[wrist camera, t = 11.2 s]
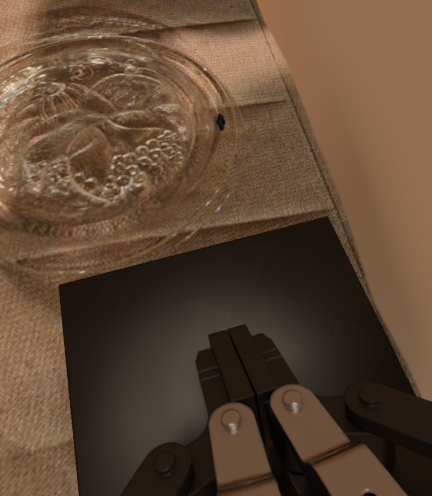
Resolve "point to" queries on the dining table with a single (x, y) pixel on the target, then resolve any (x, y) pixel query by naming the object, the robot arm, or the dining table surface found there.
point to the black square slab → (196, 339)
